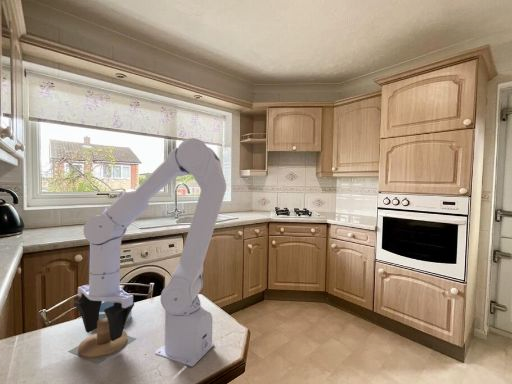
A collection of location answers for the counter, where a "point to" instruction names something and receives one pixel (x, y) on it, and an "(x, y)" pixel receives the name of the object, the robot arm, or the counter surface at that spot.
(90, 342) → the lid
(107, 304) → the bowl
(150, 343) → the counter surface
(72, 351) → the mat
